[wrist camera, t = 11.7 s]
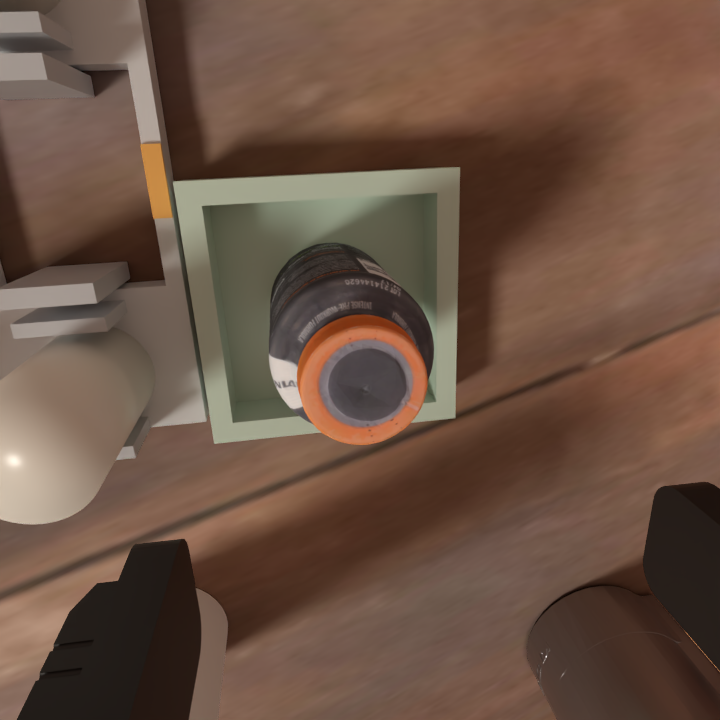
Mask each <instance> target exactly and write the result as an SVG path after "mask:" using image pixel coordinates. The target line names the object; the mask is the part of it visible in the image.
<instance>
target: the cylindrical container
mask: <svg viewBox="0 0 720 720" xmlns="http://www.w3.org/2000/svg"><path fill="white" fill-rule="evenodd" d="M196 592H197V598H198V604H199V609H200V616H201V651H200V659H199V664H198V670H197V676H196V681H195V687H194V693H193V698H192V704H191V709H190V715H189V720H218V717H219V708H220V699H221V690H222V681H223V671H224V662H225V653H226V644H227V635H228V621H227V617H226V614H225V612H224V610H223V608H222V606H221V605H220V604H219V603H218V602H217V600H216V599H214V598H213V597H212V596H211V595H209V594H208V593H206V592H204V591H202V590H200V589H198V588H196Z"/></svg>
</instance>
